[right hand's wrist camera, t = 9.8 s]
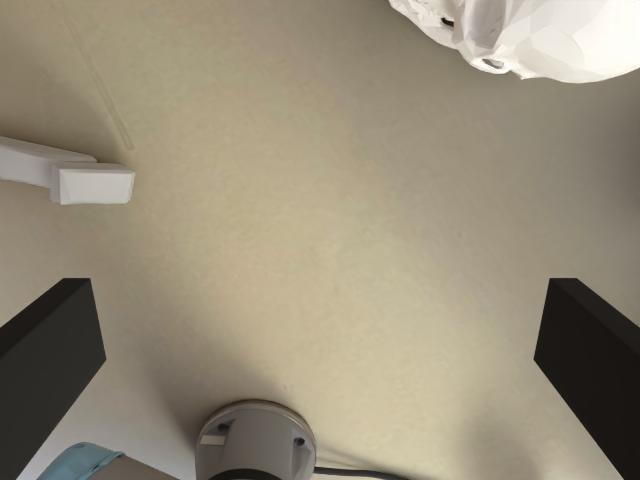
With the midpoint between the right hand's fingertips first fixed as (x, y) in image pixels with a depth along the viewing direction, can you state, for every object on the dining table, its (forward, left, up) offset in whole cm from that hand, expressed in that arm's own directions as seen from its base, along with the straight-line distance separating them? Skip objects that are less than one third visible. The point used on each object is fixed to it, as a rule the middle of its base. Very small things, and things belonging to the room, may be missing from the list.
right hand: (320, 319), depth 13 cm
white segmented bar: (+27, +7, -33) cm, 44 cm away
